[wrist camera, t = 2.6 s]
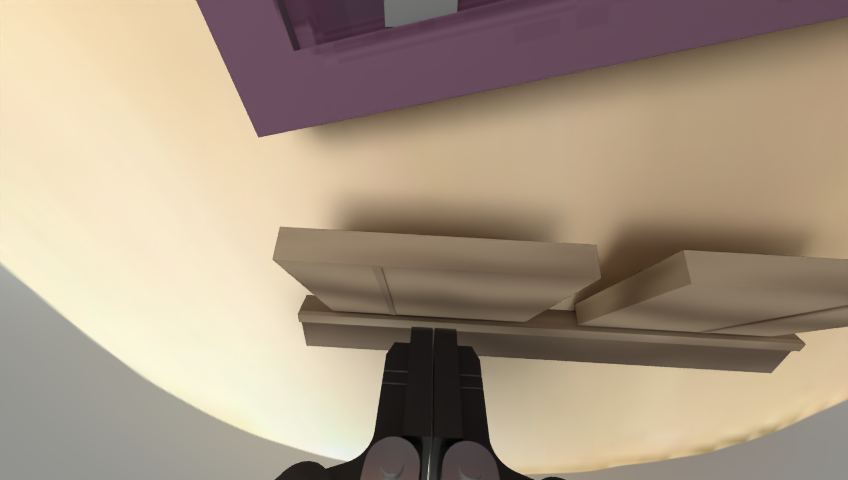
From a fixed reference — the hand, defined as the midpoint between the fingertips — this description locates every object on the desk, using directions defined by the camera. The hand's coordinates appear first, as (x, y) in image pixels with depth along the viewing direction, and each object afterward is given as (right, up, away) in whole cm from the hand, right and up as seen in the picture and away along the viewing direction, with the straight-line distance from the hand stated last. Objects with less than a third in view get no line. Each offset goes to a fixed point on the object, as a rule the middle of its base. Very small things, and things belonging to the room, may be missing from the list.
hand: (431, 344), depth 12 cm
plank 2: (+14, +1, +4) cm, 15 cm away
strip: (+7, -2, +10) cm, 13 cm away
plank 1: (0, +2, +5) cm, 5 cm away
